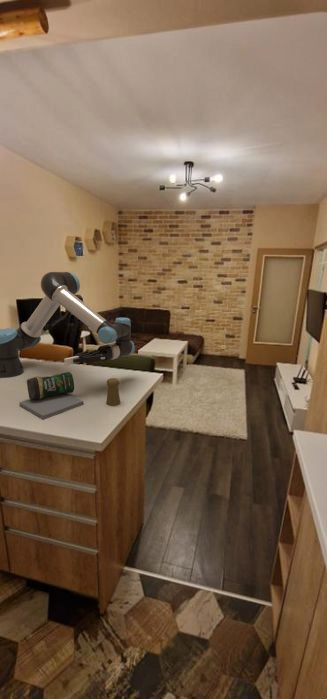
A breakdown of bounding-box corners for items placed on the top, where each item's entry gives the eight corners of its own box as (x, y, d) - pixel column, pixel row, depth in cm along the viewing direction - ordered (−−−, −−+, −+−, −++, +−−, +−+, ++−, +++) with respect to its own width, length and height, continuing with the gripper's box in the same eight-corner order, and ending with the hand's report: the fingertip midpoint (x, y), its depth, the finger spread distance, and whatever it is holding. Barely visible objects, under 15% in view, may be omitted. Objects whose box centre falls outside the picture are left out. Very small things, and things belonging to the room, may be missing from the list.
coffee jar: (76, 391, 135) (32, 401, 124) (70, 392, 141) (27, 401, 130) (72, 370, 136) (28, 377, 124) (66, 371, 142) (23, 378, 131)
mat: (19, 405, 127) (19, 402, 127) (59, 393, 141) (59, 390, 141) (43, 419, 116) (42, 415, 116) (83, 404, 130) (83, 401, 130)
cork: (106, 400, 135) (106, 376, 133) (120, 400, 136) (120, 376, 133) (105, 406, 129) (105, 381, 127) (120, 405, 130) (119, 381, 127)
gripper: (117, 362, 145) (74, 374, 127) (99, 357, 153) (56, 367, 135) (117, 347, 143) (74, 356, 125) (99, 342, 151) (56, 350, 133)
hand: (65, 362), depth 130 cm, fingers closed
